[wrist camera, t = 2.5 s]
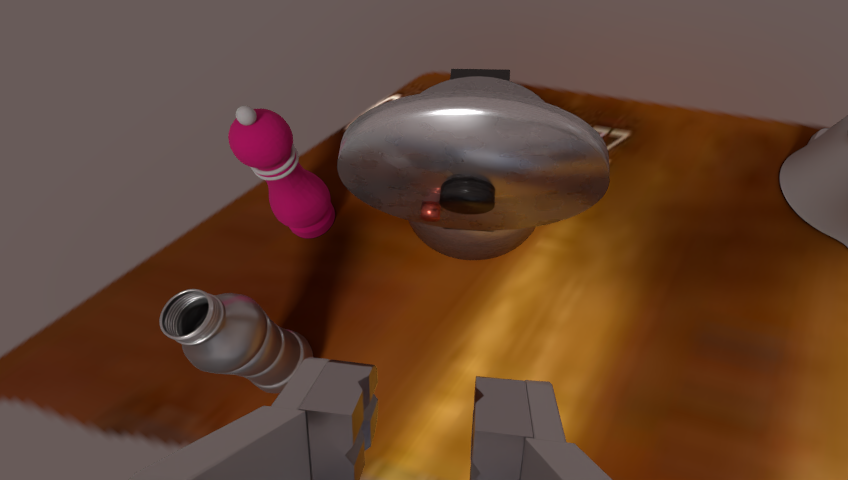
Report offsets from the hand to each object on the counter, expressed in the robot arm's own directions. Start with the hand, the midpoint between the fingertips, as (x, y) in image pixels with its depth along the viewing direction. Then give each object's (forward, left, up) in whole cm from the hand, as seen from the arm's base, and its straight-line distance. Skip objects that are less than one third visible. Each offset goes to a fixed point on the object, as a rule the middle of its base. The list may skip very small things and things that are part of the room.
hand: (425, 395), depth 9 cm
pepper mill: (+21, -24, -38) cm, 49 cm away
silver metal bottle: (+19, -5, -38) cm, 42 cm away
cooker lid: (0, -18, -16) cm, 24 cm away
